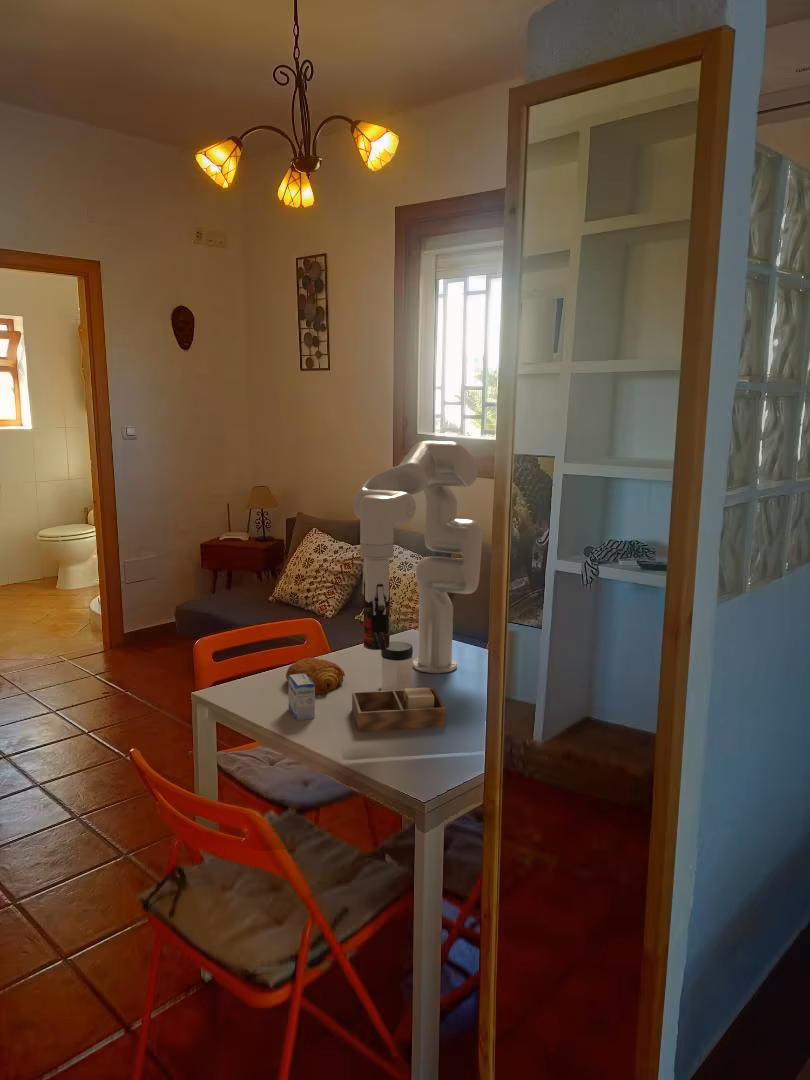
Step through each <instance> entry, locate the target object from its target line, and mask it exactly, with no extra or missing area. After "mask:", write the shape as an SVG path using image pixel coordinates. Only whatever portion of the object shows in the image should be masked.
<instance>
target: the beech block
mask: <svg viewBox="0 0 810 1080" xmlns="http://www.w3.org/2000/svg"><path fill="white" fill-rule="evenodd" d="M429 688H430V687H429V686H428V687H412V688H407V689H404V710H405V709H423V708H434V695H433V694H432V692H431V690H430V689H429Z"/></svg>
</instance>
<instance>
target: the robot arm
mask: <svg viewBox="0 0 810 1080" xmlns="http://www.w3.org/2000/svg"><path fill="white" fill-rule="evenodd" d="M478 470H479V469H478V463H477V461H476V459H475V457H474V456H473V455H472V453H471V452H470V451H469V450H467V448H465V446H463V445H462V444H460V443H458V442H455V441H443V440H442V441H441V440H439V441H438V440H423V441H419V442H417V443H415V444H414V445H413V446H412V447H411V449H410V450H409V451H408V453H407V454H406V455H405V456H404V458H403V459H402V460H401V462H400V463H399V464H398V465H396V466H393V467H391V468H388V469H386V470H384V471H382V472H381V471H380V472H378V473H376V474H374V475H373V476H371V477H370V478H368V479H367V480H365V482H364V483H363V485H362V486H361V487H360V488H359V490H358V491H357V493H356V494H355V498H354V501H353V512H354V514H355V517H357V518H358V519H359V520H360V521H359V525H360V527H359V531H360V532H359V539H360V541H359V543H360V544H359V547H360V549H359V552H360V558H361V559H363V564H362V565H363V568H362V570H363V572H362V595H363V596H364V583H365V599H366V601H367V602H368V603H370V601H372V605H373V615H372V632H385V631H386V610H385V602H387V601H388V599H389V582H390V559H392V558H394V555H395V553H394V549H395V548H394V545H395V544H394V543H395V542H394V539H395V537H394V536H395V535H394V534H395V533H394V532H395V531H394V530H395V528H394V527H395V526H394V525H404V524H406V523H408V522H410V521H411V520H413V517H414V516H415V513H416V507H417V504H416V501H415V498H414V497H413V496H412V495H416V494H418V493H421V492H422V491H423V493H424V496H425V501H426V503H425V504H426V506H425V507H426V508H425V521H424V524H425V525H424V543H425V547H426V549H428V550H429V551H432V552H439V553H449V554H459V555H461V558H457V557H450V556H448V557H446V556H435V555H432V556H431V555H430V556H426V557H423V558H422V559H420V560H419V562H418V563H417V565H416V570H415V571H416V573H415V576H416V582H417V588H418V589H417V590H418V603H419V604H418V641H417V642H418V646H417V647H418V650H417V658H415V659H412V668H413V669H415V670H416V671H419V672H422V673H427V674H445V673H449V672H453V671H454V670H456V669H457V667H458V662H457V660H455V659H453V629H454V628H453V625H454V624H453V623H454V622H453V621H454V620H453V619H454V605H453V603H452V601H451V598H450V596H449V594H448V593H453V594H462V595H463V594H464V595H470V594H473V593H474V592H476V591H477V589H478V586H479V583H480V573H481V563H482V562H481V561H482V559H481V558H482V546H483V545H482V544H483V534H482V532H483V531H482V528H481V526H480V524H479V523H478V522H477V521H476V520H474V519H465V518H457V517H458V516H457V513H458V512H457V511H458V499H457V497H456V495H455V493H454V491H453V490H452V488H451V487H457V488H458V487H461V488H469V487H471V486H473V484H475V482H476V480H477V478H478V474H479V473H478V472H479V471H478ZM385 597H386V598H385ZM376 598H378V601H375V599H376ZM385 600H386V601H385ZM375 604H378V605H377V606H375Z"/></svg>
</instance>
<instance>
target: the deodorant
mask: <svg viewBox="0 0 810 1080" xmlns="http://www.w3.org/2000/svg"><path fill="white" fill-rule="evenodd" d="M390 590H391V582H390V581H389V599H388V601H387V602H385V610H386V631H385V632H372V615H373V605H372V601H370V603H368V602H367V601H366V599H365V583H364V595H363V648H365V649H368V650H370V651H371V650H372V651H381V650H382V649H386V648H388V647H389V642H390V631H391V630H390V627H391V625H390V623H391V622H390V618H391V617H390V614H391V611H390V609H391V608H390V606H391V603H390V602H391V598H390V597H391V594H390V593H391V592H390ZM385 598H386V597H385ZM375 601H378V598H376V599H375ZM385 601H386V600H385ZM377 605H378V604H375V606H377Z"/></svg>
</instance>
